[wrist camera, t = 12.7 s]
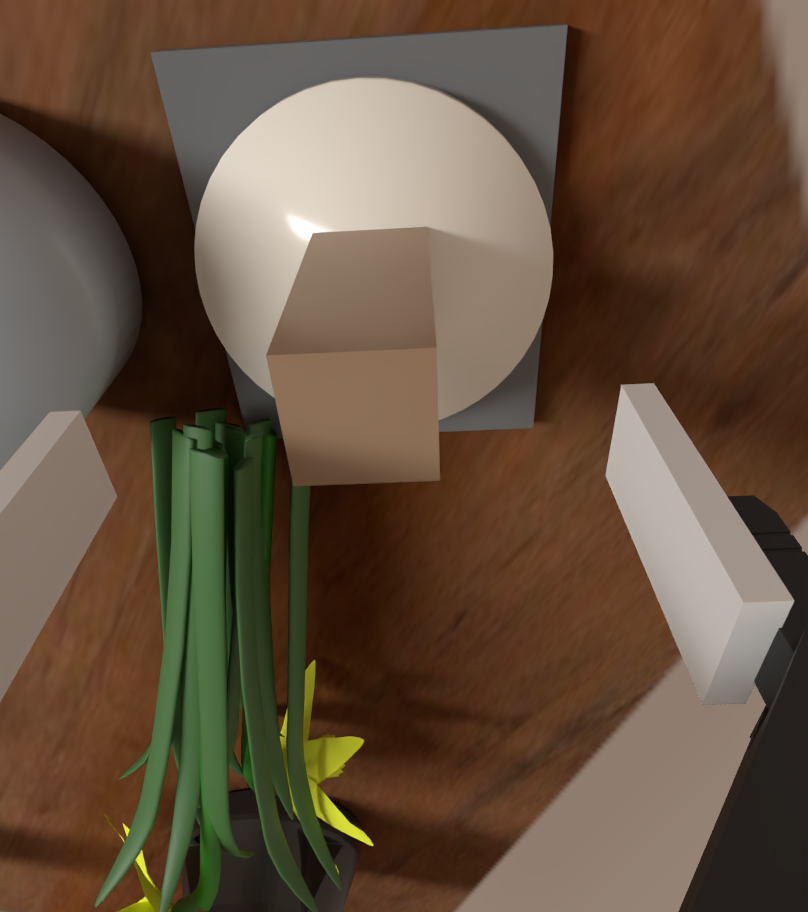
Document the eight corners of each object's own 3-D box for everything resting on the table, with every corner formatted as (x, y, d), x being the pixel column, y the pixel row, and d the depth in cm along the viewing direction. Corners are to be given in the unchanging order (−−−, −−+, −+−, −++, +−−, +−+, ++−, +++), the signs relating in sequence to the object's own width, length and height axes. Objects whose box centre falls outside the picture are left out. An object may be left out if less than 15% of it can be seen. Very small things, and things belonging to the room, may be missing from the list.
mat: (530, 418, 29) (533, 428, 28) (251, 429, 29) (248, 439, 29) (562, 23, 20) (567, 25, 19) (158, 50, 20) (150, 52, 20)
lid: (534, 408, 28) (587, 586, 19) (243, 421, 28) (176, 599, 20) (564, 62, 20) (673, 118, 12) (159, 87, 20) (-8, 158, 12)
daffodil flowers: (483, 420, 29) (392, 896, 43) (246, 348, 35) (234, 784, 49) (207, 585, 15) (205, 1208, 29) (-103, 418, 21) (17, 997, 35)
